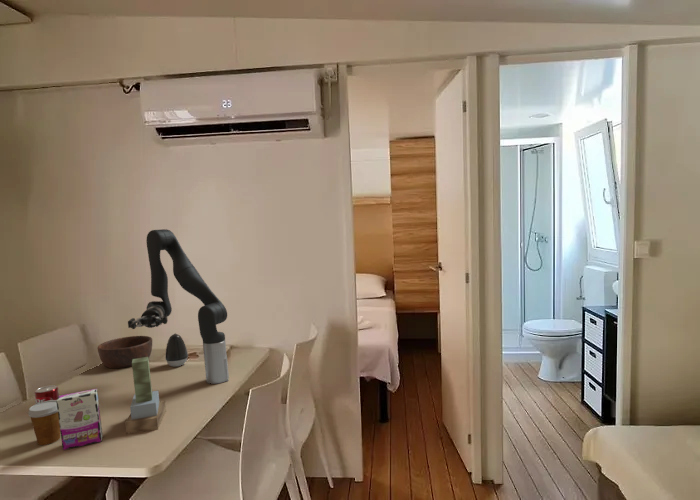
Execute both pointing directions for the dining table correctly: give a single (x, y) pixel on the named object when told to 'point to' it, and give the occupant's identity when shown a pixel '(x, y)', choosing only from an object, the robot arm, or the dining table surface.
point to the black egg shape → (176, 351)
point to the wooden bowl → (124, 351)
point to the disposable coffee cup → (45, 422)
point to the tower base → (146, 421)
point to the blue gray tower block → (145, 407)
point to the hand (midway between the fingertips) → (144, 325)
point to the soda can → (46, 394)
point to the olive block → (142, 379)
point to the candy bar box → (79, 419)
